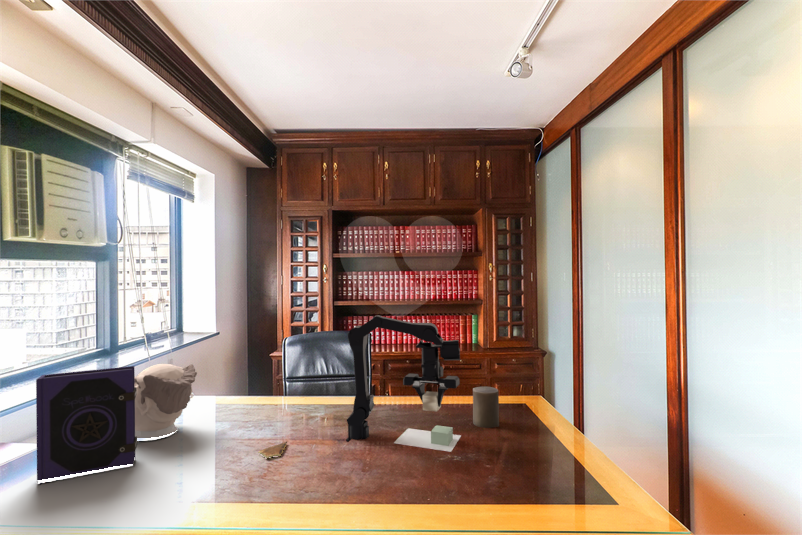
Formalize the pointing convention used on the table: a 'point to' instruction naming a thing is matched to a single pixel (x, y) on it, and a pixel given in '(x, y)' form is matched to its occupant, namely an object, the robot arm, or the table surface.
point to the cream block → (430, 401)
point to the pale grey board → (424, 440)
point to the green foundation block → (442, 435)
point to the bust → (161, 398)
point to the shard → (273, 450)
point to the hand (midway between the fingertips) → (432, 405)
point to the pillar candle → (486, 407)
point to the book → (85, 421)
